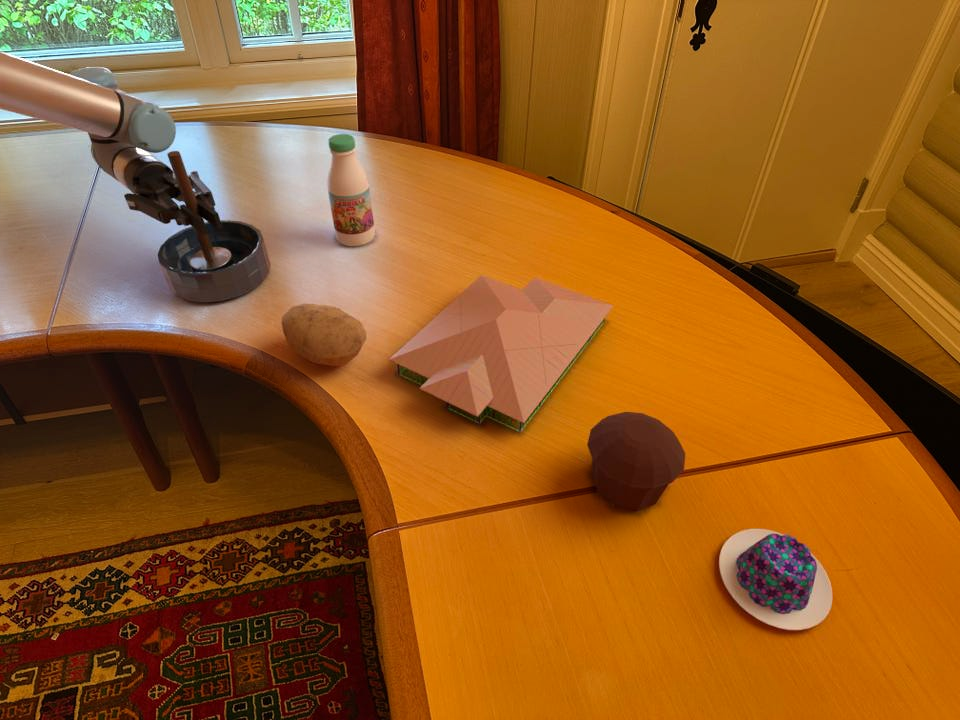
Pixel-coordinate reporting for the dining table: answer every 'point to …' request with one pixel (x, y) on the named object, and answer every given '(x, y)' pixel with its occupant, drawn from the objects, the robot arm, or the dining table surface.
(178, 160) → the brown rod with cylinder
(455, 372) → the house
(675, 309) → the dining table surface
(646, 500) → the muffin
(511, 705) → the dining table surface
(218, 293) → the bowl
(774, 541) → the pudding
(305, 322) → the potato
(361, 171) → the milk bottle
